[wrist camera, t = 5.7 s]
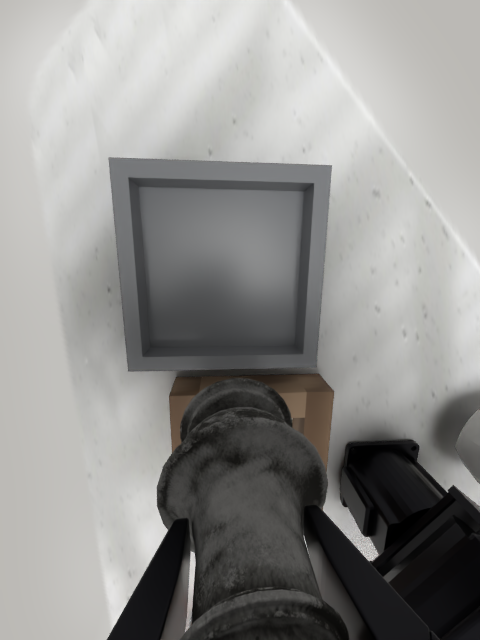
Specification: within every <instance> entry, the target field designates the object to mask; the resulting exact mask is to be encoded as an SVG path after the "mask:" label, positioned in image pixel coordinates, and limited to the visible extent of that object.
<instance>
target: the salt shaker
mask: <svg viewBox="0 0 480 640" xmlns="http://www.w3.org/2000/svg"><path fill="white" fill-rule="evenodd" d="M292 425H293V424H292V419H291V413H290V410H289V408H288V406H287V405H286V403H285V401H284V399H283V398H282V397H281V396H280V395H279V394H278V393H277V392H276V391H275V390H274V389H273V388H271V387H269V386H268V385H266V384H264V383H262V382H259V381H256V380H252V379H248V378H231V379H227V380H222V381H218V382H216V383H214V384H212V385H210V386H208V387H206V388H204V389H203V390H201V391H200V392H199V393H198V394H197V395H196V396H195V397H193V398H192V400H191V401H190V403H189V404H188V406H187V407H186V409H185V411H184V414H183V417H182V420H181V424H180V439H181V442H182V443H181V444H180V445H179V446H178V447H177V448H175V450H174V451H173V453H172V454H171V456H170V457H169V459H168V460H167V462H166V463H165V465H164V466H163V469H162V473H161V476H160V479H159V482H158V485H157V507H158V510H159V513H160V516H161V518H162V521H163V524H164V525H165V527H166V528H167V529H168V530H169V528H170V526H171V525H172V523H173V521H174V520H175V519H179V518H188V520H189V527H190V538H191V550H190V551H192V552H194V553H195V558H196V567H195V581H194V595H193V609H192V623H191V626H190V628H189V629H188V630H187V631H186V633H185V634H184V635H183V636H182V637H181V639H180V640H349V634H348V630H347V627H346V625H345V623H344V621H343V620H342V618H341V616H340V615H339V613H338V612H337V611H336V610H335V609H334V608H332V607H331V606H330V605H329V604H327V603H326V602H325V601H323V600H322V597H321V593H320V590H319V587H318V584H317V580H316V577H315V574H314V571H313V567H312V564H311V561H310V557H309V554H308V551H307V548H306V544H305V541H304V537H303V535H304V530H303V519H304V507H305V506H308V505H317V506H319V507H320V508H321V509H322V507H323V505H324V503H325V499H326V493H327V487H328V481H327V474H326V468H325V465H324V463H323V461H322V459H321V457H320V455H319V453H318V451H317V449H316V447H315V446H314V445H313V444H312V443H311V442H310V441H309V440H308V439H307V438H306V437H305V436H304V435H303V434H302V433H300V432H299V431H297V430H295V429H293V428H292Z"/></svg>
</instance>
